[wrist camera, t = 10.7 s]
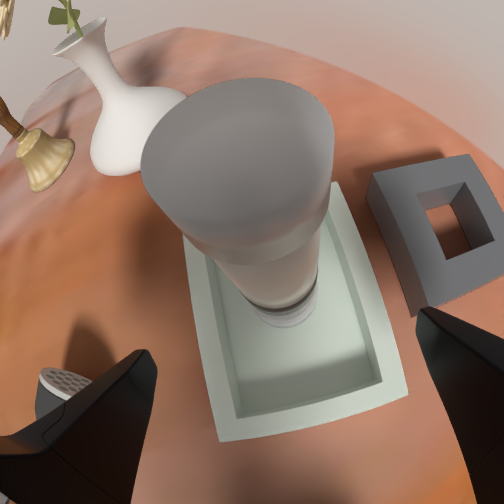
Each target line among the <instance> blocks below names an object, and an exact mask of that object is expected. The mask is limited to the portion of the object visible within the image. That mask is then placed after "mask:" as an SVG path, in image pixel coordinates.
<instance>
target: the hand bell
mask: <svg viewBox="0 0 504 504" xmlns="http://www.w3.org/2000/svg"><path fill="white" fill-rule="evenodd" d="M0 125H2V126H3V127H4V128H5V129H6V130H7V131H8V132H9V133H10V134H11V135H13V138H15V139H16V140H17V141H18V142H19V146H18V148H17V153H16V154H17V157H18V158H19V159H20V161H21V162H22V163H23V165H24V166H25V168H26V170H27V172H28V175H29V185H30V188H31V190H32V191H34V192H41V191H43V190H45V189H47V188H48V187H49V186H51V185H52V184H53V183H54V182H55V181H56V180H57V179H58V178H59V177H60V175H61V174H62V173H63V172H64V170H65V169H66V167H67V166H68V164H69V162H70V160H71V158H72V156H73V153H74V143H73V141H72V140H70V139H56V138H53V137H51V136H50V135H48V134H47V133H45V132H44V131H43V130H42V129H40V128H35V129H33V130H31V131H27V130H26V129H25V128H24V127H23V126H22V125H20V123H18V122H17V121H16V120H15V119H14V118H13V117H12V116H11V114H10V112H9V110H8V108H7V106H6V104H5V102H4V101H3V99H2V98H1V97H0Z"/></svg>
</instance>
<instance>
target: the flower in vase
mask: <svg viewBox="0 0 504 504" xmlns="http://www.w3.org/2000/svg"><path fill="white" fill-rule="evenodd" d="M59 1H60V2H61V3H62V4H63V5H64V7H65V8H66V9H60V8H55V7H52V9H51V11H50V15H49V20H48V22H49V24H52V25H58V24H68V25H67V33H69V30H70V29H71V28H72V27H73V26H74V27H75V29H76V32H75V33H73V34H72V35H70V36H69V37H68V38H67V39H65V40H64V41H63V42H62V43H61V44H60V45H59V46H57V48H56V49H55V50H54V51H53V53H52V55H53V56H59V57H63V58H65V59H68V60H70V61H72V62H73V63H75V64H76V65H77V66H78V67H79V68H81V69H82V70H83V71H84V73H85V74H86V75H87V76H88V77H89V78H90V79H91V81H92V82H93V83H94V85H95V86H96V88H97V89H98V91H99V93H100V95H101V97H102V100H103V109H102V112H101V115H100V118H99V120H98V122H97V125H96V128H95V131H94V133H93V137H92V142H91V148H90V154H91V159H92V162H93V165H94V167H95V168H96V170H98V171H99V172H100V173H102V174H105V175H111V176H125V175H129V174H133V173H136V172H139V171H140V162H141V156H142V151H143V148H144V145H145V143H146V141H147V138H148V136H149V135H150V133H151V131H152V130H153V128H154V127H155V126H156V124H157V123H158V122H159V121H160V119H161V118H162V117H163V116H164V115H165V114H166V113H167V112H168V111H169V110H171V109H172V108H173V107H174V106H175V105H177V104H178V103H179V102H181V101H182V100H184V99H185V98H187V96H185V95H184V94H183V93H182V92H180V91H178V90H175V89H171V88H166V87H135V86H131V85H129V84H127V83H126V82H125V81H124V80H123V79H122V78H121V76H120V75H119V73H118V72H117V70H116V68H115V66H114V65H113V63H112V61H111V58H110V56H109V54H108V51H107V47H106V44H105V37H104V32H105V24H106V20H107V17H102V18H99V19H97V20H94V21H92V22H91V23H89V24H87V25H85V26H84V27H82V28H80V27H79V25H78V22H77V20H78V17H79V14H80V10H76V9H72V8H71V0H68V2H67V1H66V0H59ZM14 2H15V0H0V36H1V33H2V29H3V40H4V39H5V37H7V36H8V34H9V31H10V27H11V22H12V16H13V9H14Z"/></svg>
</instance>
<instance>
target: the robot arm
mask: <svg viewBox="0 0 504 504" xmlns="http://www.w3.org/2000/svg"><path fill="white" fill-rule="evenodd" d="M416 336H417V339H418V342H419V344H420V347H421V350H422V353H423V356H424V359H425V362H426V364H427V367H428V370H429V373H430V375H431V377H432V380H433V382H434V384H435V386H436V389H437V391H438V393H439V395H440V398H441V400H442V402H443V405H444V407H445V409H446V412H447V414H448V417H449V419H450V422H451V424H452V427H453V429H454V432H455V435H456V437H457V440H458V443H459V446H460V448H461V451H462V454H463V457H464V460H465V463H466V466H467V469H468V472H469V474H470V475H469V476H470V480H471V483H472V486H473V490H474V494H475V497H476V501H477V504H504V339H502V338H500V337H498V336H496V335H494V334H491V333H489V332H487V331H485V330H483V329H480V328H478V327H476V326H474V325H472V324H469V323H467V322H465V321H463V320H461V319H458V318H456V317H454V316H452V315H449V314H447V313H445V312H443V311H440V310H438V309H436V308H434V307H431V306H427V307H424V308H420V309H419V310H418V314H417V322H416ZM156 379H157V366H156V364H155V362H154V360H153V359H152V357H151V355H150V353H149V351H148V350H146V349H138V350H135V351H134V352H132V353H131V354H130V355H128V356H127V357H125V358H124V359H123V360H121V361H120V362H119V363H117V364H116V365H115V366H113V367H112V368H110V369H109V370H108V371H106V372H105V373H104V374H102V375H101V376H99V377H98V378H97V379H95V380H94V381H93V382H91V383H90V384H88V385H87V386H86V387H84V388H83V389H82V390H80V391H79V392H77V393H76V394H75V395H73V396H72V397H71V398H69V399H68V400H66V402H64V403H62V404H61V405H59V406H58V407H57V408H55V409H54V410H52V411H51V412H49V413H48V414H46V415H45V416H43V417H41V418H40V419H38V420H37V421H35V422H33V423H32V424H30V425H28V426H27V427H25V428H23V429H22V430H20V431H18V432H16V433H14V434H12V435H8V436H0V504H131V499H132V494H133V489H134V484H135V479H136V474H137V470H138V465H139V461H140V456H141V452H142V448H143V444H144V439H145V435H146V431H147V427H148V423H149V419H150V415H151V411H152V406H153V399H154V392H155V386H156Z"/></svg>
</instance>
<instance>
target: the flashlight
mask: <svg viewBox="0 0 504 504" xmlns="http://www.w3.org/2000/svg"><path fill="white" fill-rule="evenodd" d="M91 382H93V381H91V380H90V379H88V378H86V377H83V376H81V375H78V374H75V373H73V372H70V371H66V370H62V369H57V368H43V369H42V370H41V371H40V376H39V382H38V388H37V395H36V402H35V414H36V420H38V419H40V418H41V417H43V416H45V415H46V414H48V413H49V412H51V411H52V410H54V409H55V408H57V407H58V406H59V405H61V404H62V403H64V402H66V400H68V399H69V398H71V397H72V396H73V395H75V394H76V393H77V392H79V391H80V390H82V389H83V388H84V387H86V386H87V385H88V384H90V383H91Z"/></svg>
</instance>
